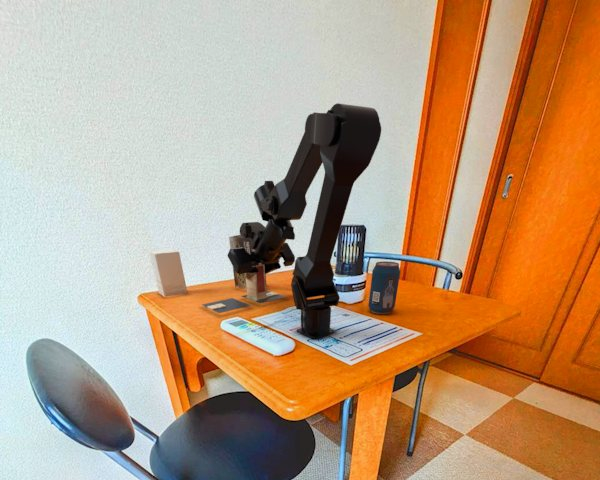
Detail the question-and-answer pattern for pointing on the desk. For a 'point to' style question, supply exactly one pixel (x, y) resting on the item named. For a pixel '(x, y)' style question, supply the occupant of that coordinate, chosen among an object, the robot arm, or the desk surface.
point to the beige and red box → (257, 284)
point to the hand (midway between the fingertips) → (252, 276)
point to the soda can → (384, 287)
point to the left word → (225, 305)
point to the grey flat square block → (269, 295)
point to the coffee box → (245, 243)
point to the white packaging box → (168, 272)
